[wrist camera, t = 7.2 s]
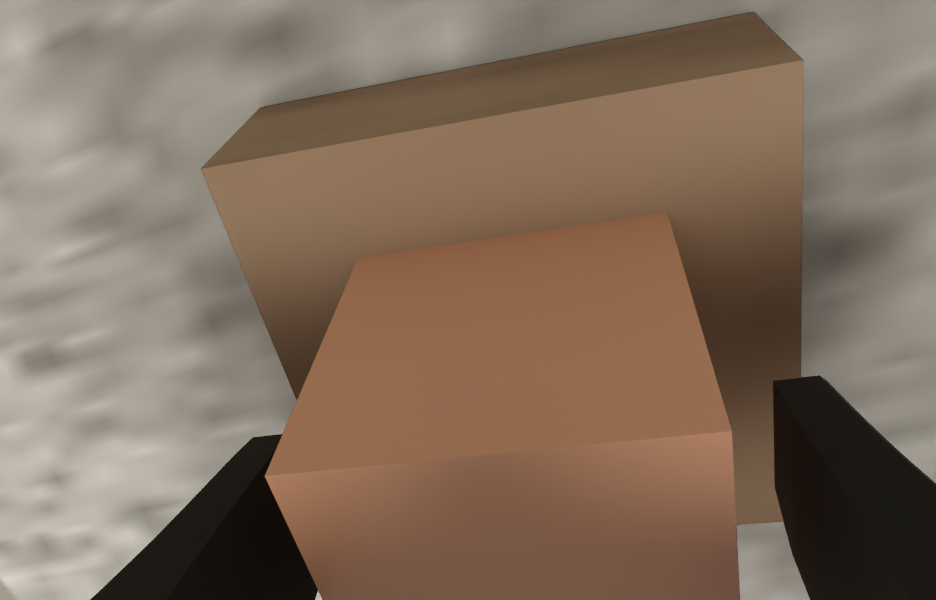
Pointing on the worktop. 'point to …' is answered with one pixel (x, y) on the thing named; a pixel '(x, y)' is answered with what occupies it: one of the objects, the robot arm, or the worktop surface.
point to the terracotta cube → (515, 427)
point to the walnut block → (549, 190)
